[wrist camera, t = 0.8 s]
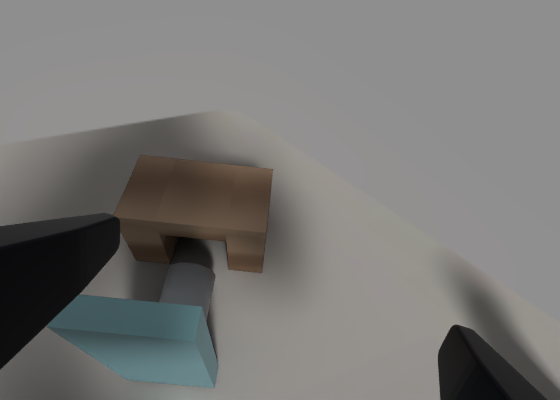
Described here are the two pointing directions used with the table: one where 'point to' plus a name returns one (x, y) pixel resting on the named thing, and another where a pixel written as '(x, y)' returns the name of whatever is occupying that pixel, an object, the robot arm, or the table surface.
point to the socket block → (196, 209)
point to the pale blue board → (149, 330)
